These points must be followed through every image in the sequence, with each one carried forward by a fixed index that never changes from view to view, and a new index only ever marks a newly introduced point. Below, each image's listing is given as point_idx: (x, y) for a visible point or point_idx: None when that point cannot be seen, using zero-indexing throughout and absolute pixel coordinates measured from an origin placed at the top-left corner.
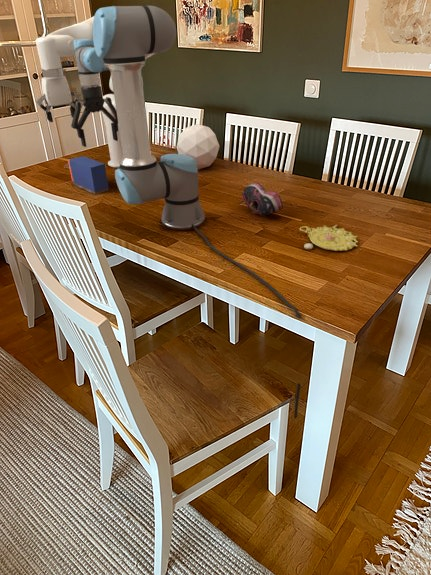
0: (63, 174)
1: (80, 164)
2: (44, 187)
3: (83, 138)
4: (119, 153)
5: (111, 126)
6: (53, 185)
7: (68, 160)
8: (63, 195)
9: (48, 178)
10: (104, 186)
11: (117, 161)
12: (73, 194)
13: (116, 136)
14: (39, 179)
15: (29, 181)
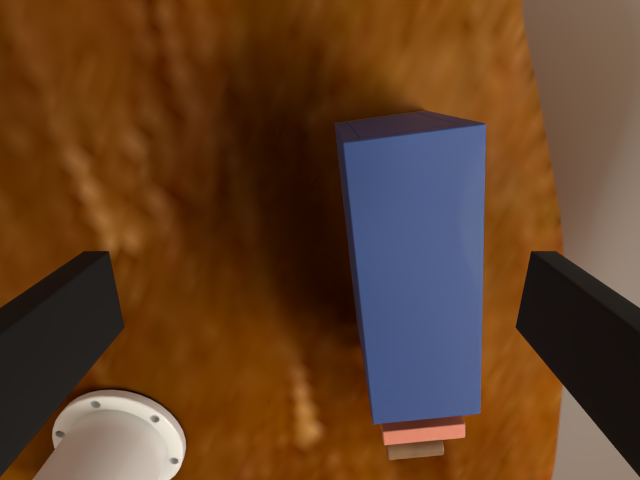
0: (399, 462)
1: (481, 277)
2: (547, 369)
3: (631, 303)
4: (102, 463)
5: (5, 467)
6: (504, 368)
7: (464, 429)
8: (550, 214)
9: (472, 455)
10: (362, 121)
11: (139, 433)
12: (507, 194)
13: (62, 275)
14: (505, 465)
15: (547, 467)
